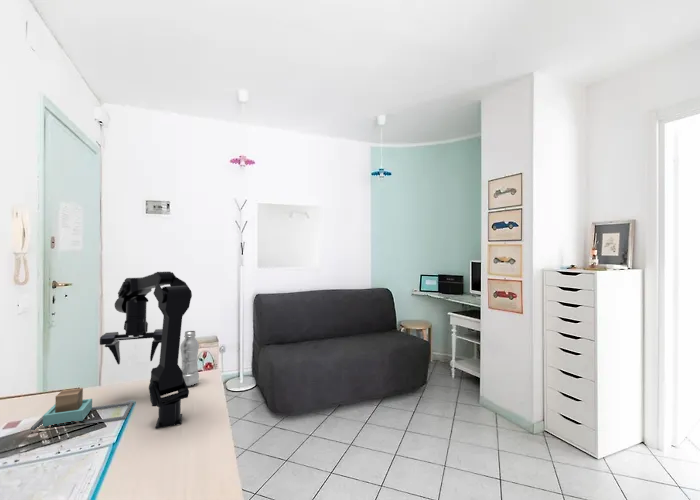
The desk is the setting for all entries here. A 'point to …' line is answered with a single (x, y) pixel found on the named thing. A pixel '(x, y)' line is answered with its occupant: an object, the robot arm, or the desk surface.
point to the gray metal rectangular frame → (97, 409)
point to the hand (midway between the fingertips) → (135, 362)
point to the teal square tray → (67, 414)
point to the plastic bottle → (190, 358)
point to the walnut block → (69, 400)
